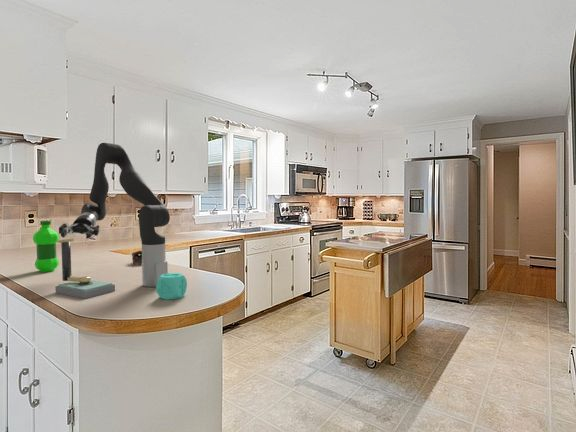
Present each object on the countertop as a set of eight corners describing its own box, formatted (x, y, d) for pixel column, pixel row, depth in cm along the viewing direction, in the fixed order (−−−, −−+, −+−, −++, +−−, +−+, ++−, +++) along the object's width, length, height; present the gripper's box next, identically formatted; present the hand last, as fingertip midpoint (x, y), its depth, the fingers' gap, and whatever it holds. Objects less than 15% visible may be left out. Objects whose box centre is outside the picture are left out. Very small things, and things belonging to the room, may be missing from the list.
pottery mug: (154, 263, 195) (151, 252, 190) (141, 273, 188) (138, 262, 183) (139, 256, 200) (136, 245, 195) (126, 266, 193) (122, 254, 188)
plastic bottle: (29, 272, 169) (27, 221, 168) (49, 268, 179) (48, 220, 178) (44, 273, 166) (42, 221, 165) (64, 269, 176) (62, 220, 175)
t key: (95, 281, 136) (94, 239, 135) (82, 284, 130) (81, 241, 129) (70, 279, 139) (69, 238, 138) (57, 282, 133) (55, 240, 132)
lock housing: (115, 290, 135) (114, 282, 135) (85, 298, 124) (84, 289, 124) (85, 285, 143) (85, 277, 143) (55, 292, 132) (55, 284, 132)
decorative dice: (176, 300, 122) (176, 278, 122) (156, 299, 123) (155, 277, 123) (187, 294, 130) (186, 273, 130) (167, 293, 131) (167, 272, 131)
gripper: (66, 213, 151) (54, 226, 136) (103, 216, 155) (95, 228, 140) (67, 229, 153) (54, 243, 138) (102, 231, 157) (94, 245, 143)
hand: (75, 235), depth 139 cm, fingers open, 8 cm apart
